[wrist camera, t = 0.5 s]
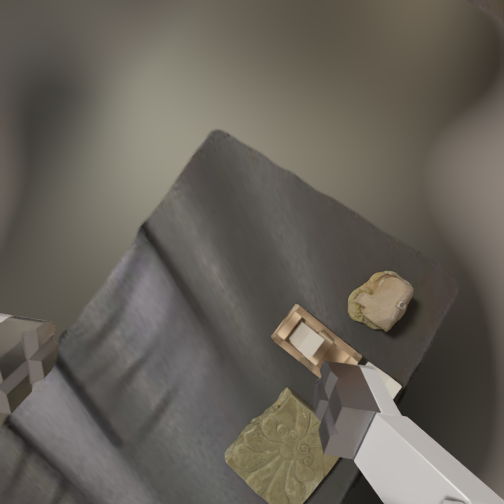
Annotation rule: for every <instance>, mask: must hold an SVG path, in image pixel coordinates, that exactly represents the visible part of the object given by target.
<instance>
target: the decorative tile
mask: <svg viewBox="0 0 504 504" xmlns="http://www.w3.org/2000/svg"><path fill="white" fill-rule="evenodd" d="M320 424H321V421H320V420H319V419H318V418H317V417H316V415H315V412H314V409H313V408H312V407H311V406H310V405H309V404H308V403H307V402H305V401H304V400H303V399H302V398H301V397H299V396H298V395H297V394H296V393H295V392H294V391H293V390H291V389H290V388H289V387H287V388H285V389H284V390H283V391H282V392H281V394H280V396H279V398H278V400H277V401H276V402H275V403H274V404H273V405H272V406H271V407H270V408H268V409H266V410H265V412H264V413H263V414H262V415H261V416H259V417H256V418H254V419H253V420H252V421H251V423H250V424H249V425H247V426H246V428H245V429H244V430H243V431H242V432H241V434H240V436H239V437H238V438H237V439H236V440H235V441H234V443H233V444H232V445H231V446H230V447H229V448H228V449H227V451H226V452H225V460H226V463H227V464H228V465H229V466H230V467H231V468H232V469H233V470H234V471H235V472H236V473H237V474H238V475H239V476H241V477H242V478H243V479H244V480H245V481H246V483H247V484H248V485H249V486H250V487H251V488H252V489H253V490H254V491H255V492H256V493H257V494H258V495H260V496H261V497H263V498H264V499H265V500H266V501H267V502H268V503H269V504H303V503H304V502H305V500H306V499H307V498H308V497H309V496H310V495H311V493H312V492H313V491H314V490H315V488H316V487H317V486H318V485H319V483H320V482H321V481H322V479H323V478H324V477H325V476H326V475H327V474H328V472H329V471H330V469H331V468H332V467H333V466H334V464H335V463H336V461H337V460H338V459H339V457H337V456H331V455H324V454H323V449H322V445H321V440H320V436H319V431H318V429H319V426H320Z"/></svg>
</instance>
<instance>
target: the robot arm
mask: <svg viewBox="0 0 504 504" xmlns="http://www.w3.org/2000/svg"><path fill="white" fill-rule="evenodd" d="M55 333H56V332H55V327H54V324H53V323H51V322H49V321H44V320H38V319H32V318H26V317H20V316H12V315H6V314H0V413H9V414H11V413H12V412H13V411H14V410H15V409H16V408H17V407H18V406H19V405H20V404H21V403H22V402H23V400H24V399H25V398H26V397H27V396H28V395H29V394H30V393H31V392H32V384H34V383H36V382H38V381H40V380H42V379H44V378H45V377H46V376H47V375H48V373H49V372H50V371H51V370H52V368H53V366H54V364H55V362H56V360H57V356H58V346H57V344H56V343H55V342H54V341H53V340H52V337H53V336H54V334H55ZM320 373H321V378H320V379H318V380H317V381H316V383H315V387H314V392H313V407H314V412H315V415H316V417H317V418H318V419H319V420H320V421H321V424H320V426H319V429H318V431H319V436H320V440H321V445H322V449H323V454H324V455H331V456H337V457H343V458H349V459H355V460H354V462H355V463H356V465H357V466H358V467H359V469H360V470H361V472H362V473H363V474H364V476H365V477H366V479H367V480H368V481H369V483H370V484H371V486H372V487H373V488H374V490H375V491H376V493H377V494H378V495H379V497H380V498H381V500H382V501H383V502H384V504H504V500H503V499H501V498H500V497H499V496H498V495H497V494H496V493H494V492H493V491H492V490H491V489H490V488H489V487H488V486H487V485H485V484H484V483H483V482H482V481H481V480H480V479H478V478H477V477H476V476H475V475H474V474H473V473H471V472H470V471H469V470H468V469H467V468H466V467H464V466H463V465H462V464H461V463H460V462H459V461H458V460H456V459H455V458H454V457H453V456H452V455H451V454H449V453H448V452H447V451H446V450H445V449H444V448H442V447H441V446H440V445H439V444H438V443H437V442H435V441H434V440H433V439H432V438H431V437H430V436H429V435H427V434H426V433H425V432H424V431H423V430H422V429H420V428H419V427H418V426H417V425H416V424H414V423H413V422H412V421H411V420H410V419H409V418H408V417H405V416H401V414H400V412H399V410H398V408H397V407H396V405H395V403H394V401H393V399H392V397H391V395H390V394H389V392H388V390H387V388H386V386H385V384H384V382H383V381H382V379H381V377H380V375H379V373H378V371H377V370H376V369H375V368H374V367H372V366H364V365H354V364H346V363H339V362H331V361H324V362H323V363H322V365H321V368H320Z"/></svg>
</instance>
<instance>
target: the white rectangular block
mask: <svg viewBox="0 0 504 504" xmlns="http://www.w3.org/2000/svg"><path fill="white" fill-rule="evenodd" d="M365 366H372V367H374V368H375V369H376V370H377V371H378V373H379V375H380V377H381V379H382V381H383V382H384V384H385V386H386V388H387V390H388V392H389V394H390V395H391V397H392V399H394V397H395V396H396V394H397V393H398V392H399V390H400V389H401V387H402V386H401V385H400V384H398V383H397V382H396V381H395V380H393V379H392V378H391V377H390V376H388V375H387V374H385V373H384V372H383V371H381V370H380V369H378V368H377V367H375V366H374V365H373V364H371V363H370V362H368V363H367V364H366V365H365Z"/></svg>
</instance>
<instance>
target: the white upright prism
mask: <svg viewBox="0 0 504 504" xmlns="http://www.w3.org/2000/svg"><path fill="white" fill-rule="evenodd" d="M288 338H289V339H290V340H291V342H292V343H293V344H294V346H295V347H296V348H297V349H298V350H299V351H300V352H301V353H302V354H304V355H305V356H306V357H307V358H309V359H311V357H312V356H313V355H314V353H315V352H316V351H317V349H318V348H319V346H320V345H321V344H322V342H323V341H324V339H323V338H322V337H321V336H319V335H318V334H317V333H316V332H314V331H313V330H312V329H311V328H309V327H308V326H307V325H306V324H304V323H303V322H302V321H301V322H300V323H299V324H298V326H297V327H296V328H295V329H294V331H293V332H292V333H291V335H290V336H289V337H288Z"/></svg>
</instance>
